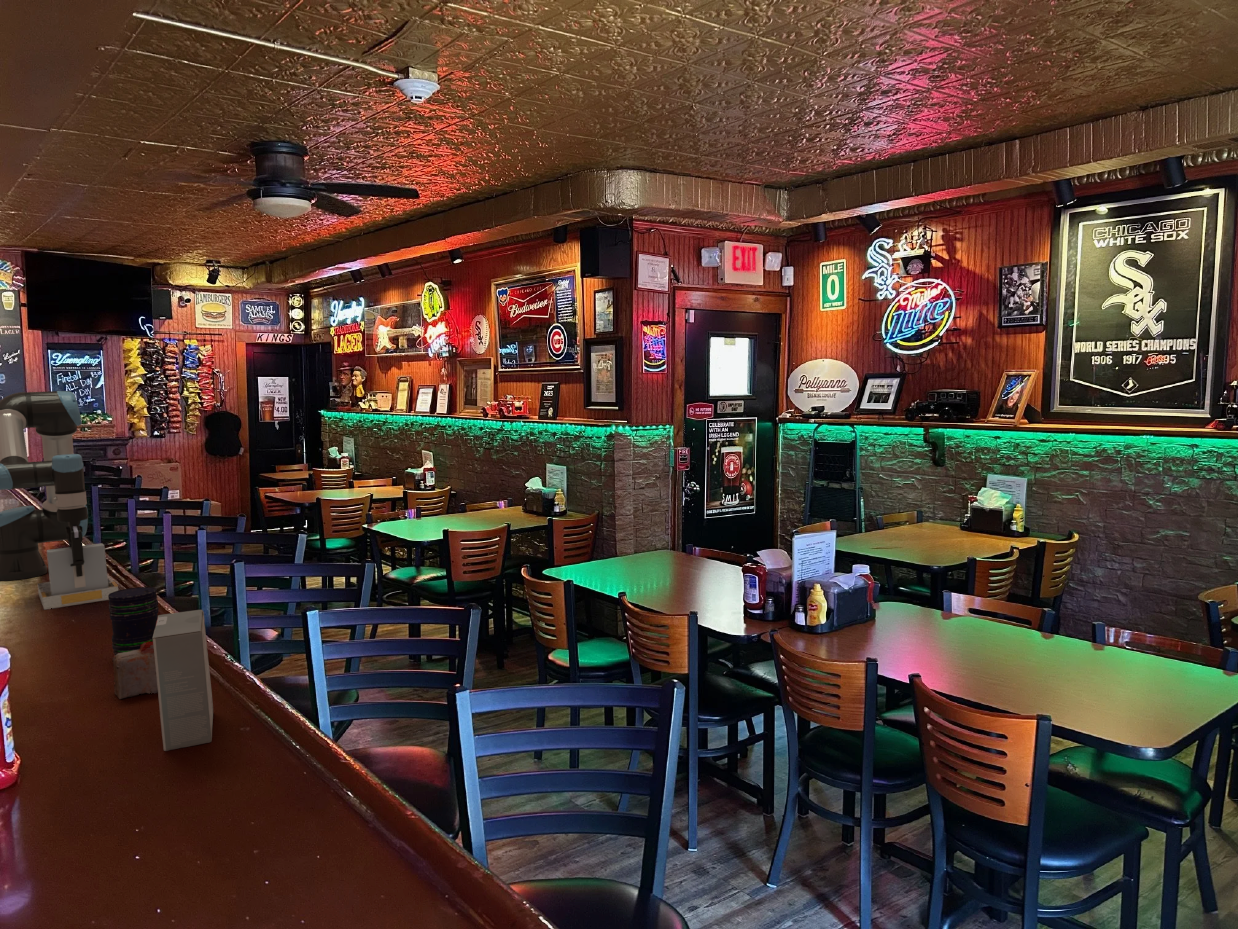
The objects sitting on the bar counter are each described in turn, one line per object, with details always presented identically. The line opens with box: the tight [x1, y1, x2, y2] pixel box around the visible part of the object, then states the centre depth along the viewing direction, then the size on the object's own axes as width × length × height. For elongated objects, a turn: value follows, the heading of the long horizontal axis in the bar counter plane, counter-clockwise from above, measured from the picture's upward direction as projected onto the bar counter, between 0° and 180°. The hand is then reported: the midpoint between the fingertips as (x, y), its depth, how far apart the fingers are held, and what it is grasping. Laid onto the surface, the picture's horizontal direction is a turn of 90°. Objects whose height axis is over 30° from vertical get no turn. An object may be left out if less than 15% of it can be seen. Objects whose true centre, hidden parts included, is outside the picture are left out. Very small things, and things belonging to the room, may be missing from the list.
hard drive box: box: [153, 609, 214, 752], centre depth 150 cm, size 16×8×20 cm, turn 25°
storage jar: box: [108, 586, 160, 656], centre depth 196 cm, size 10×10×15 cm
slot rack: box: [37, 573, 119, 610], centre depth 258 cm, size 24×19×4 cm
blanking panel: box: [46, 542, 108, 596], centre depth 251 cm, size 5×14×14 cm, turn 127°
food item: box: [111, 641, 158, 700], centre depth 174 cm, size 14×8×10 cm, turn 128°
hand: (79, 585), depth 252 cm, fingers closed on blanking panel, 5 cm apart
